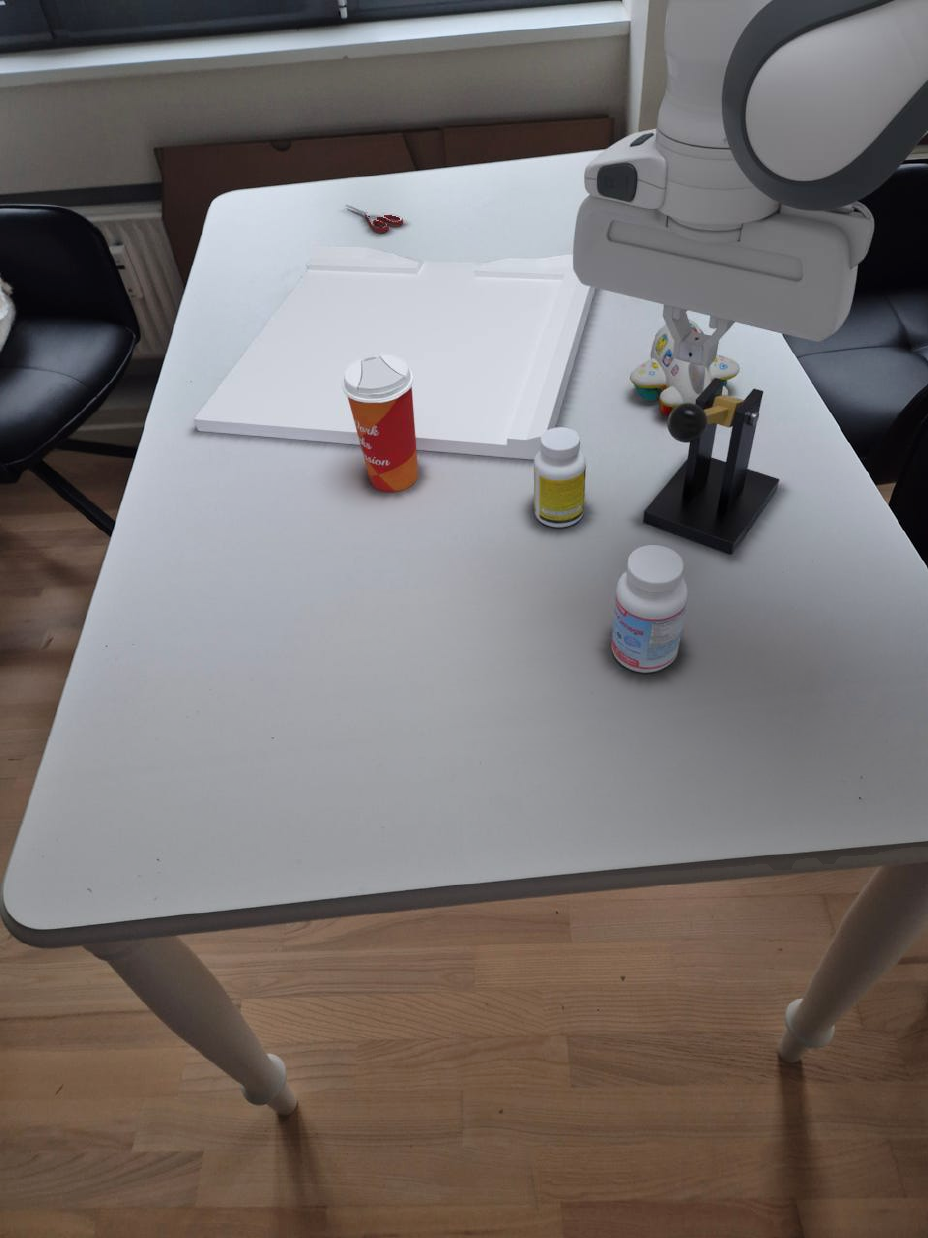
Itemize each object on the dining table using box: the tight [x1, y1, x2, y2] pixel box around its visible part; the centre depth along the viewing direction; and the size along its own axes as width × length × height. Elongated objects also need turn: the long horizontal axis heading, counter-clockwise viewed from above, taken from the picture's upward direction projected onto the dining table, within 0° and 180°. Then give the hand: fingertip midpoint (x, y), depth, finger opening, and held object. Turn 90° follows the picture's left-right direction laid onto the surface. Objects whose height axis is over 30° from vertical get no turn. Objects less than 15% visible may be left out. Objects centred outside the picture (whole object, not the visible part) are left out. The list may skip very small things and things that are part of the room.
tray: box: [193, 245, 597, 461], centre depth 119 cm, size 45×45×4 cm
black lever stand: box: [642, 378, 780, 555], centre depth 88 cm, size 12×10×14 cm
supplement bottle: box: [533, 426, 587, 528], centre depth 91 cm, size 5×5×10 cm
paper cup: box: [342, 355, 419, 493], centre depth 96 cm, size 8×8×14 cm
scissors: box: [345, 204, 404, 233], centre depth 151 cm, size 5×14×1 cm, turn 41°
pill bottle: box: [611, 544, 689, 674], centre depth 76 cm, size 6×6×11 cm
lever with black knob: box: [667, 395, 745, 444], centre depth 80 cm, size 14×3×3 cm, turn 145°
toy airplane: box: [629, 318, 741, 416], centre depth 105 cm, size 13×9×15 cm
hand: (693, 359), depth 67 cm, fingers closed
